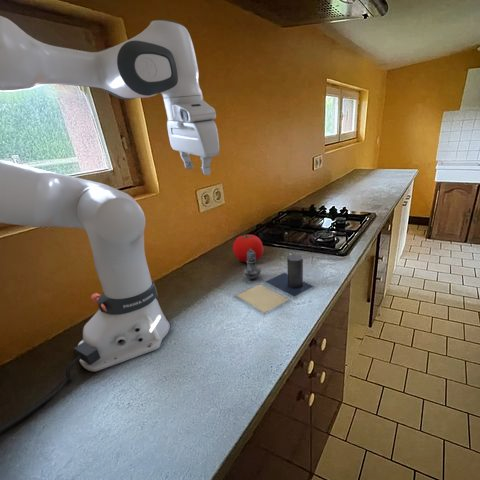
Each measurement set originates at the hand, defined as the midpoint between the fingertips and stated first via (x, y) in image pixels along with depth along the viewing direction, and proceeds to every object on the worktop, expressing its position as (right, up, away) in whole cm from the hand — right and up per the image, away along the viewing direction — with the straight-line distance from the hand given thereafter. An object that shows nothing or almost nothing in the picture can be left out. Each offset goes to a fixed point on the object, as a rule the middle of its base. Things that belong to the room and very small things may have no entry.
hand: (197, 171), depth 78 cm
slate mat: (+25, -30, +24) cm, 46 cm away
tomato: (+9, -21, +43) cm, 49 cm away
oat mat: (+16, -34, +17) cm, 41 cm away
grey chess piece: (+12, -28, +29) cm, 42 cm away
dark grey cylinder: (+27, -30, +23) cm, 46 cm away
